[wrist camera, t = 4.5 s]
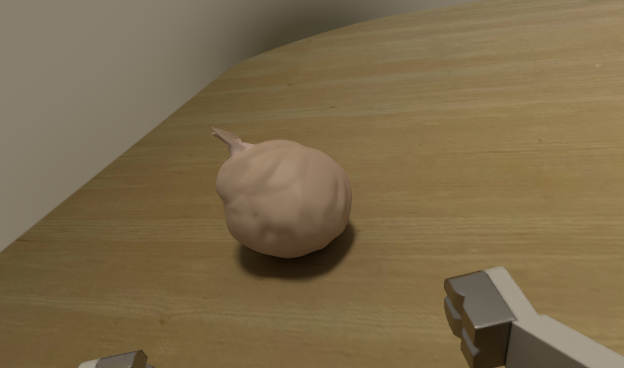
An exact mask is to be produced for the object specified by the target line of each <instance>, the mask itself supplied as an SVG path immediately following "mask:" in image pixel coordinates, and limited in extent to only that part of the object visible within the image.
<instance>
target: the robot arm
mask: <svg viewBox="0 0 624 368" xmlns="http://www.w3.org/2000/svg"><path fill="white" fill-rule="evenodd" d="M444 289H445V291H446V293H447V296H446V298H445V299H444V309H445V313H446V318H447V320H448V323H449V326H450V328H451V330H452V332H453V334H454V335H455V336H457V337H459V338H460V339H461V351H462V353H463V355H464V357H465V359H466V361H467V363H468V365H469V367H470V368H496V367H500V366H505V368H624V356H622V355H620V354H618V353H616V352H614V351H612V350H611V349H609V348H607V347H605V346H603V345H601V344H599V343H598V342H596V341H594V340H592V339H590V338H588V337H586V336H585V335H583V334H581V333H579V332H577V331H575V330H573V329H572V328H570V327H568V326H566V325H564V324H562V323H560V322H559V321H557V320H555V319H553V318H551V317H549V316H547V315H546V314H543V315H539V314H538V313H537V312H536V310H535V309H534V307H533V306H532V305H531V303H530V302H529V301H528V299H527V298H526V296H525V295H524V294H523V292H522V291H521V289H520V288H519V287H518V285H517V284H516V283H515V281H514V280H513V278H512V277H511V276H510V274H509V273H508V271H507V270H506V269H505V268H504V267H502V266H499V267H495V268H490V269H486V270H482V271H481V270H480V271H476V272H472V273H468V274H464V275H460V276H455V277H451V278H447V279H445V281H444ZM146 362H147V356H146V355H145V353H144V352H143V351H142V350H139V351H134V352H129V353H124V354H119V355H114V356H110V357H105V358H100V359H95V360H91V361H86V362H82V363H81V364H80V365H79V367H78V368H155V367H154V366H151V365H149V364H146Z"/></svg>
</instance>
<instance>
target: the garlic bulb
mask: <svg viewBox="0 0 624 368" xmlns="http://www.w3.org/2000/svg"><path fill="white" fill-rule="evenodd" d="M212 128H213V129H214V130H215V131H216V132H217V133H211V134H212V135H214V136H215V137H217V138H218V139H220V140H222V141H223V142H225V143H226V144H228V149H229V152H230V153H231V157H230V158H228V159H227V160H226V161H225V162H224V164H223V165H222V167H221V169H220V171H219V174H218V178H217V182H216V190H217V193H218V195H219V196H220V197H221V199H222V201H223V203H224V209H225V216H226V223H227V227H228V230H229V232H230V233H231V235H232V236H233V237H234V238H235V239H236V240H237V241H238V242H240V243H241V244H243V245H245V246H247V247H249V248H251V249H253V250H255V251H257V252H260V253H262V254H267V255H272V256H277V257H281V258H295V257H300V256H303V255H306V254H308V253H310V252H313V251H316V250H320V249H323V248H324V247H326V246H327V245H328V244H329V243H330V242H331V241H332V240H333V239H334V238H336V237H337V236H339V235H340V234H341V233H342V232H343V231H344V229H345V227H346V225H347V222H348V219H349V215H350V211H351V202H352V192H351V185H350V182H349V179H348V177H347V175H346V173H345V171H344V170H343V169H342V167H341V166H340V165H339V164H338V163H337V162H336V161H335V160H334V159H332V158H331V157H329V156H328V155H326V154H324V153H323V152H321V151H319V150H316V149H313V148H309V147H304V146H302V145H301V144H299V143H296V142H293V141H290V140H273V141H266V142H263V143H260V144H255V145H251V144H249V143H245V142H241V139H239V138H238V137H237V136H236V135H235V134H232V133H229V132H226V131H223V130H220V129H217V128H214V127H212Z"/></svg>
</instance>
